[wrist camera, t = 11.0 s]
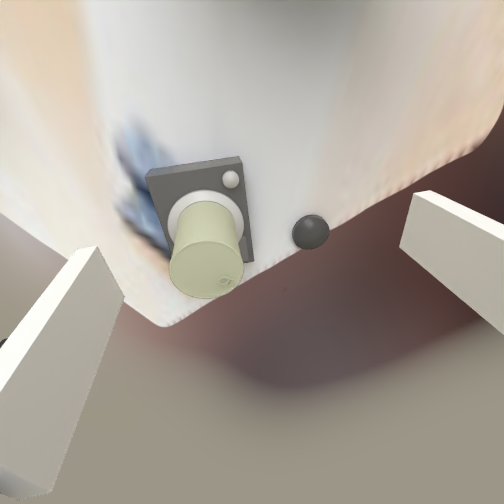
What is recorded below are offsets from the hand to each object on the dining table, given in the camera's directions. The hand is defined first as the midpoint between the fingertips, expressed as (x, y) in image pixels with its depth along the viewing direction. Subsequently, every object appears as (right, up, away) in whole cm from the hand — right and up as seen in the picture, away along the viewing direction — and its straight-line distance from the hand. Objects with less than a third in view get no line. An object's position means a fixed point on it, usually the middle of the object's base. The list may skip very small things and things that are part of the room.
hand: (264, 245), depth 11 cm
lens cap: (+11, +4, +39) cm, 41 cm away
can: (-8, +4, +30) cm, 31 cm away
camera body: (-9, +6, +34) cm, 36 cm away
